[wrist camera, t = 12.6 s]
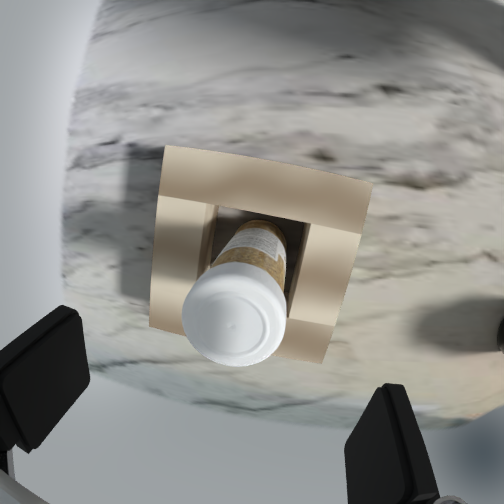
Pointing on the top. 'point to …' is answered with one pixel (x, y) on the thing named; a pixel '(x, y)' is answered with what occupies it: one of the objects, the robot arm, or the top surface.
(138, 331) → the top surface
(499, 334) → the supplement bottle
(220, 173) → the socket block
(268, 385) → the top surface
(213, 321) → the sprinkles bottle
